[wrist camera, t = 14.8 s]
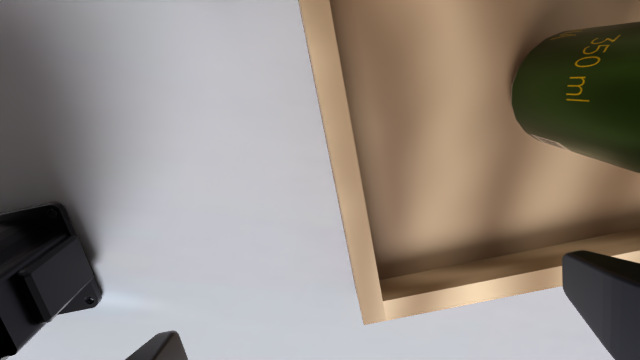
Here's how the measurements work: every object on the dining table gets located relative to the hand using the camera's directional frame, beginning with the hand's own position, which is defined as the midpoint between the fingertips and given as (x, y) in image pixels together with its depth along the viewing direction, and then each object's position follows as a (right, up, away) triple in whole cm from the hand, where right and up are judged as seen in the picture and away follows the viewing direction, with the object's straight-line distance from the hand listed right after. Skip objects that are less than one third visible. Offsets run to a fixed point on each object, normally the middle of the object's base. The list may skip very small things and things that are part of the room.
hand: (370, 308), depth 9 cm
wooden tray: (+8, +6, +12) cm, 16 cm away
